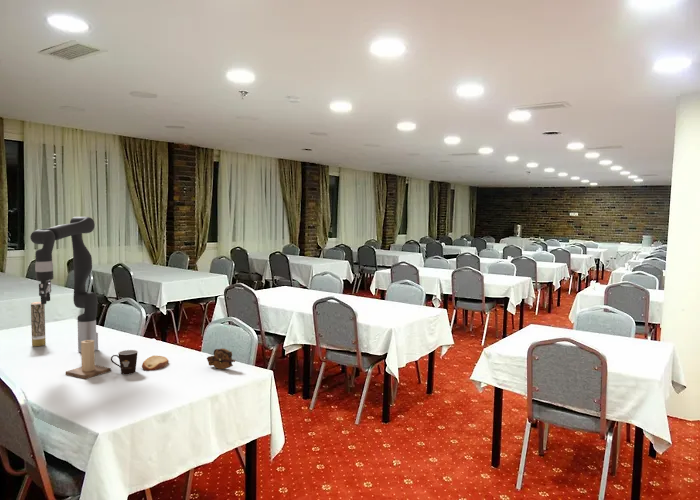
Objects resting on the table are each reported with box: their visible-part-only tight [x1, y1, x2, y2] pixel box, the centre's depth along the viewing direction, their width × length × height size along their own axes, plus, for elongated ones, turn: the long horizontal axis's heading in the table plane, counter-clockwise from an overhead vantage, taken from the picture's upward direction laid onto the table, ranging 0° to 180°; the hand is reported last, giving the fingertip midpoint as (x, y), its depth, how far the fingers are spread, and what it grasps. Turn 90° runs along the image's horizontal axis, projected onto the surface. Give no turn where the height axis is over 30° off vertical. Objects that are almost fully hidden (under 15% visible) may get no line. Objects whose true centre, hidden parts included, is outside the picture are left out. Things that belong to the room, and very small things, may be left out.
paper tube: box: [30, 301, 47, 347], centre depth 299 cm, size 7×7×25 cm
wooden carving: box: [206, 348, 236, 370], centre depth 258 cm, size 16×5×10 cm, turn 70°
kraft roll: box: [80, 340, 96, 372], centre depth 249 cm, size 5×5×14 cm
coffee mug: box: [110, 349, 139, 375], centre depth 251 cm, size 12×9×10 cm
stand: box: [65, 364, 112, 380], centre depth 249 cm, size 14×14×8 cm
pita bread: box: [141, 355, 169, 372], centre depth 264 cm, size 18×18×4 cm
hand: (45, 302), depth 255 cm, fingers open, 8 cm apart
